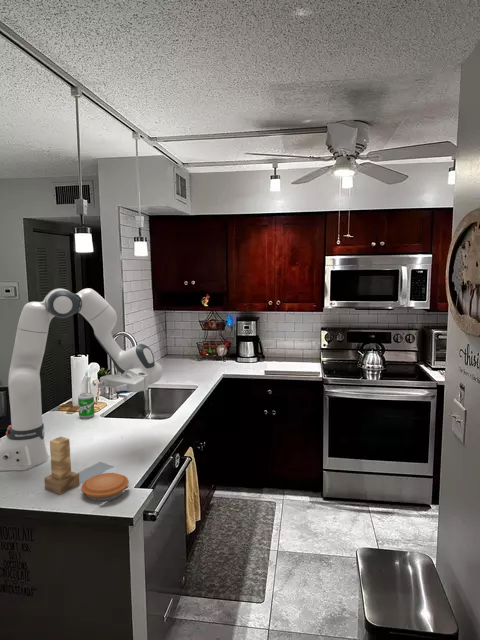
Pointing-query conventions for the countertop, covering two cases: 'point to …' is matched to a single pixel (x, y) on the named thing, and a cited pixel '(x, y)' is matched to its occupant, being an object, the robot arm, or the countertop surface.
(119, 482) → the pie
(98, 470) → the slate board
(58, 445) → the oak post
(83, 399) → the soda can
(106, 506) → the countertop surface
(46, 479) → the walnut plinth
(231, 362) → the countertop surface
